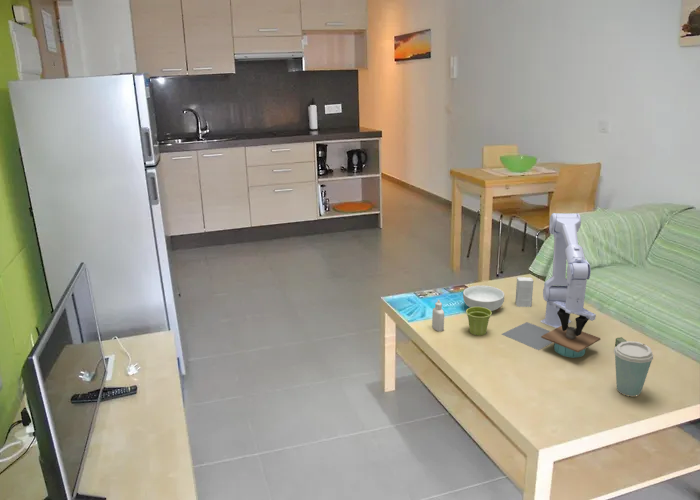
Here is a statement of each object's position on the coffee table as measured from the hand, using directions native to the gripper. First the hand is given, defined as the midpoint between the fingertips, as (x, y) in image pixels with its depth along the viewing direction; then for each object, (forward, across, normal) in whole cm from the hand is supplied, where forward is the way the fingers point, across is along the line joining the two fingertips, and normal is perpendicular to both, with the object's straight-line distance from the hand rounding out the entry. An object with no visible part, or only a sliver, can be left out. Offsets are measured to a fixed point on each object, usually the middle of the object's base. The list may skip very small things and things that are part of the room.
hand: (571, 332), depth 190 cm
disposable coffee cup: (+8, +25, -9) cm, 28 cm away
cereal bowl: (+8, -43, +6) cm, 44 cm away
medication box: (+8, +14, +13) cm, 21 cm away
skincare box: (+8, -34, +21) cm, 41 cm away
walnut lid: (+2, 0, 0) cm, 2 cm away
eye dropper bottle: (+8, -42, -22) cm, 48 cm away
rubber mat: (+7, -15, 0) cm, 17 cm away
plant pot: (+8, -30, -13) cm, 34 cm away
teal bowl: (+7, 0, 0) cm, 7 cm away
